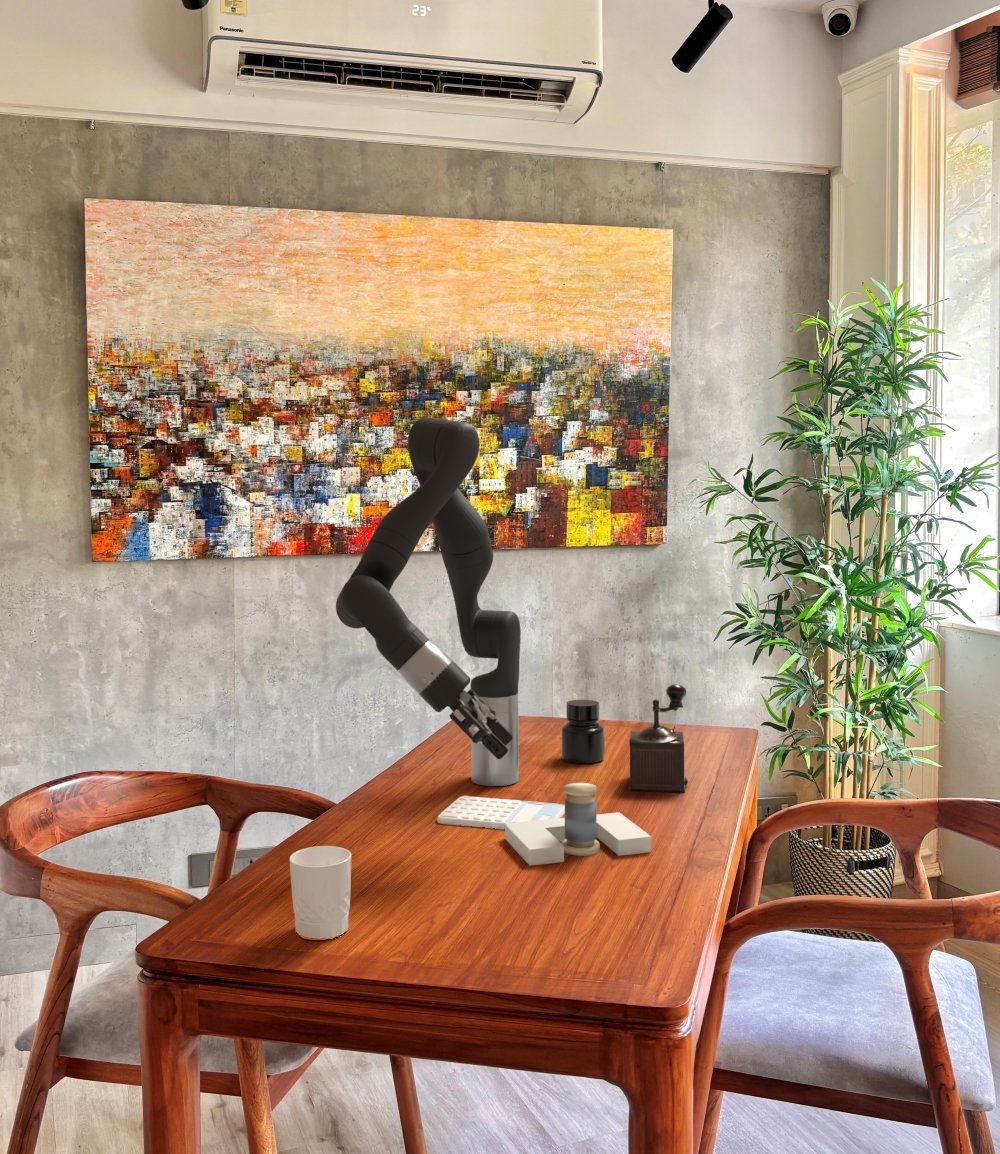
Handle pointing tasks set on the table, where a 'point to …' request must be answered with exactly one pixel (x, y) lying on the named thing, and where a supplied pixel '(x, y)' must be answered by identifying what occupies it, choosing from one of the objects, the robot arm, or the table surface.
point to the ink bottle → (582, 733)
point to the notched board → (544, 837)
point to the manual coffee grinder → (659, 752)
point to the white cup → (321, 890)
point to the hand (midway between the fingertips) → (506, 748)
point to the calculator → (497, 812)
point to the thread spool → (580, 820)
